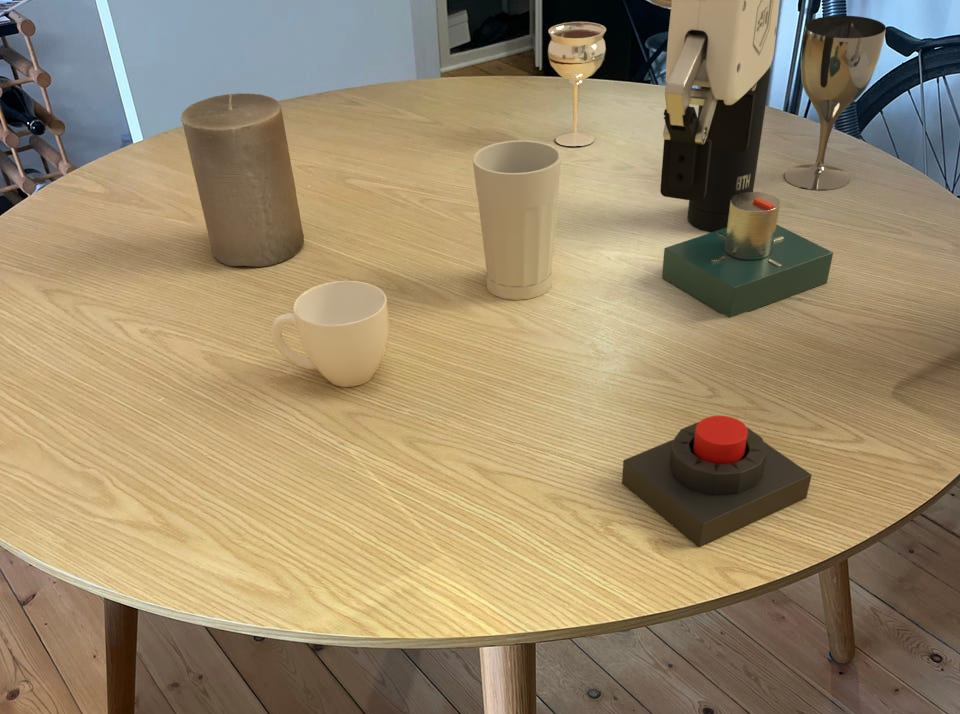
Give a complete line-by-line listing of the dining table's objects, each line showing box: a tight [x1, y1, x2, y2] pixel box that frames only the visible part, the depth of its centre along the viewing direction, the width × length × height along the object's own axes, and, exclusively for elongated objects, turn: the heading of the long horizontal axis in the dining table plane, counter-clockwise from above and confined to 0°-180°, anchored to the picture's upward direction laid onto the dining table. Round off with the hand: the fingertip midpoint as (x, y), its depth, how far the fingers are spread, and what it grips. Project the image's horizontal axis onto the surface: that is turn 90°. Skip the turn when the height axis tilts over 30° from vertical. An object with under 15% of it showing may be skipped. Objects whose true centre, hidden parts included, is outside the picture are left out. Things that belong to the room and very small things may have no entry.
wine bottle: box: [686, 64, 772, 232], centre depth 97 cm, size 6×6×30 cm
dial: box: [724, 191, 781, 260], centre depth 94 cm, size 4×4×5 cm
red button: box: [693, 415, 748, 464], centre depth 72 cm, size 4×4×2 cm
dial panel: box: [661, 223, 834, 319], centre depth 97 cm, size 12×10×3 cm
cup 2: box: [472, 139, 563, 301], centre depth 95 cm, size 8×8×12 cm
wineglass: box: [547, 21, 607, 144], centre depth 121 cm, size 7×7×12 cm
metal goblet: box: [784, 15, 887, 191], centre depth 109 cm, size 8×8×15 cm
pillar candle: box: [180, 92, 305, 268], centre depth 102 cm, size 10×10×15 cm
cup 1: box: [271, 280, 390, 388], centre depth 87 cm, size 8×10×7 cm
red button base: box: [621, 421, 813, 548], centre depth 74 cm, size 10×9×4 cm
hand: (705, 171), depth 75 cm, fingers open, 9 cm apart
